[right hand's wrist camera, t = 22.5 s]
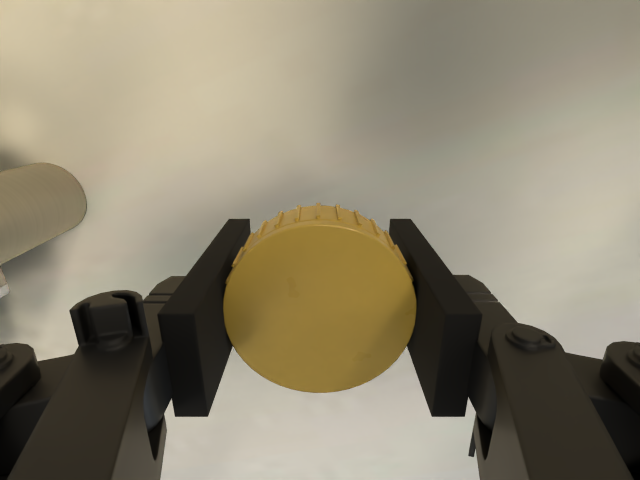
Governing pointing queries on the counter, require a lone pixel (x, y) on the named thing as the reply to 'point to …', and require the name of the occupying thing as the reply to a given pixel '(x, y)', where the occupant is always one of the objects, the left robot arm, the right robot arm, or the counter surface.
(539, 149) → the counter surface
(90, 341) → the right robot arm
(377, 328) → the lid
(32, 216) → the beige cylinder
